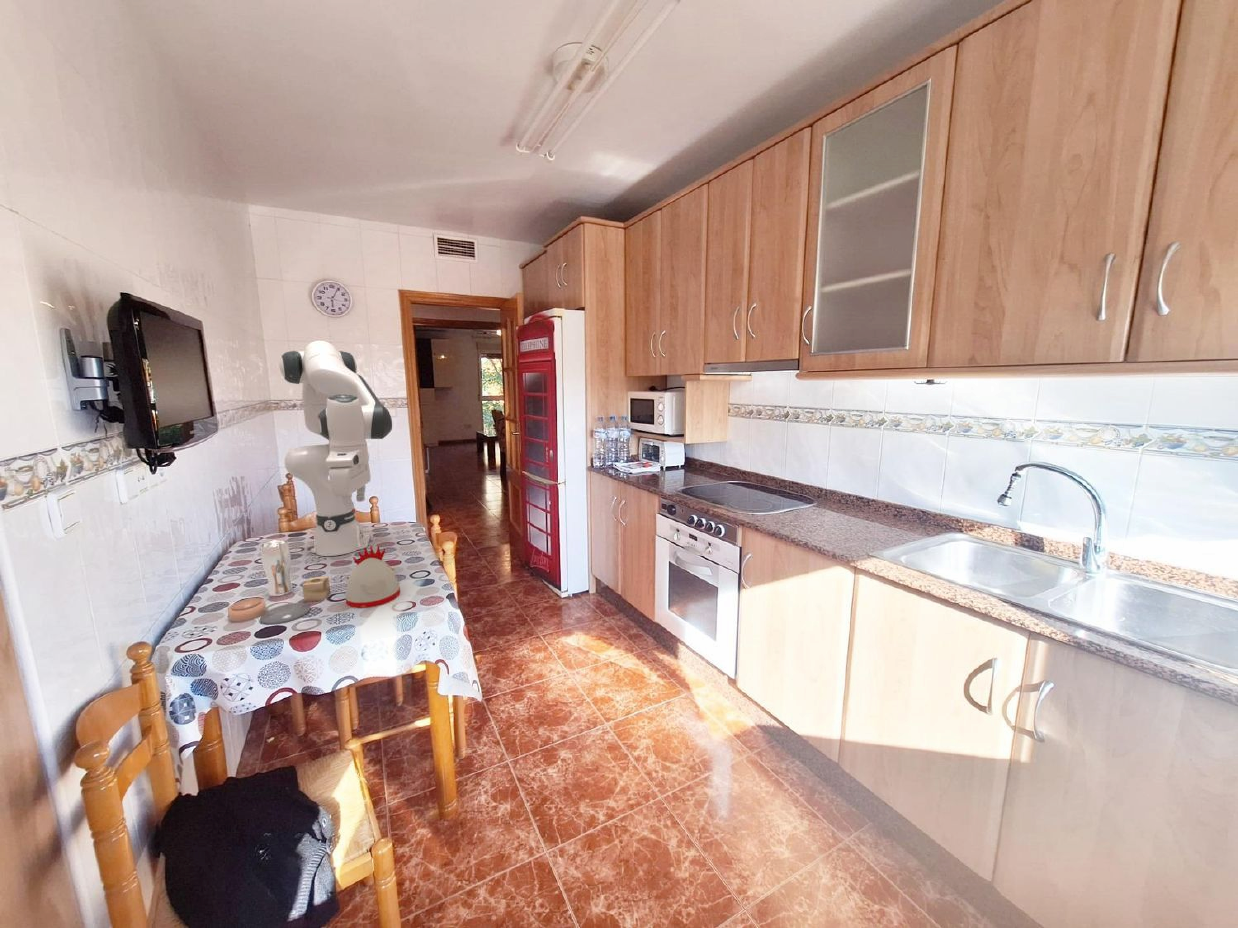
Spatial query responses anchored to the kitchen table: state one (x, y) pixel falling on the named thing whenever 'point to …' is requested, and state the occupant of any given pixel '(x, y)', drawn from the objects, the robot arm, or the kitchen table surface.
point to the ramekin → (246, 610)
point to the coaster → (285, 613)
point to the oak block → (316, 588)
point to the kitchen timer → (371, 581)
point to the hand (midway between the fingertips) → (355, 505)
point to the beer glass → (277, 566)
